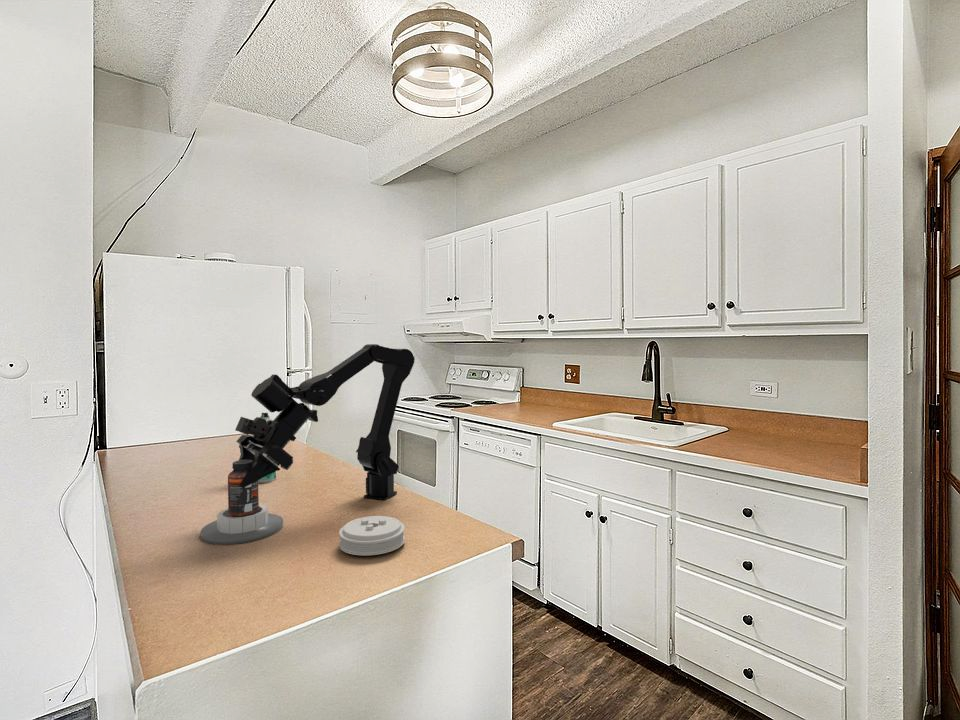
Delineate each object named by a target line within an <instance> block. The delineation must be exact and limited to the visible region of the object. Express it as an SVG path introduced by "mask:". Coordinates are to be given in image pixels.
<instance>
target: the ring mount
mask: <svg viewBox="0 0 960 720" xmlns="http://www.w3.org/2000/svg"><path fill="white" fill-rule="evenodd" d="M283 527H284V519H283V517H282V516H281V515H278V514H274V513H269V508H268V507H267V506H266V505H264V504H259V510H258V512H257V513H255V514H253V515H250V516H245V517H232V516H230V515H229V511H228V507H227V508H225V509H222V510H220V511H219V512H218V513H217V514H216V520H213V521H212V522H209V523H207V524H206V525H205V526H203V527H202V528H201V530H200V539H201V538H202V539H201V540H202V541H203V540H204V541H203V542H205V543H207V542H208V544H211V543H212V545H221V546H222V545H237V544H239V545H240V544H244V543H245V544H246V543H249V542H250V543H251V542H255V541H259V540H263V539H265V538H267V537H270V536H272V535H275V534H276V533H278V532H279V531H281V530H282V528H283Z"/></svg>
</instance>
